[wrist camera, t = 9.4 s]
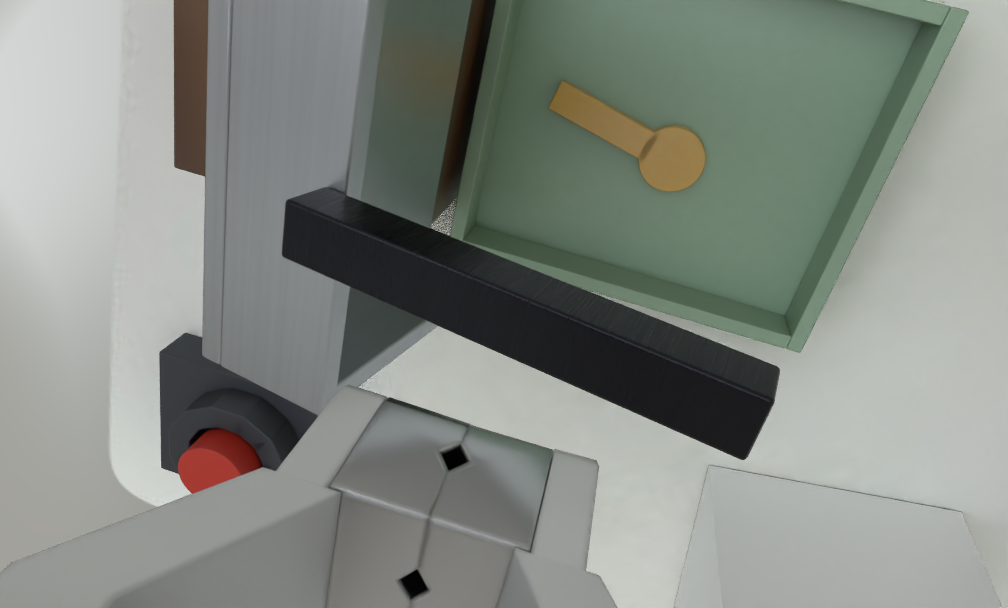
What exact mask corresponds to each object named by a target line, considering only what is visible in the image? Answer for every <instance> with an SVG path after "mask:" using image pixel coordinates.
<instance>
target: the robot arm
mask: <svg viewBox="0 0 1008 608" xmlns="http://www.w3.org/2000/svg"><path fill="white" fill-rule="evenodd" d="M598 471H599V465H598V463H597V460H593V459H590V458H586V457H582V456H579V455H575V454H572V453H568V452H564V451H561V450H557V449H554V451H553V450H552V449H549V448H545V447H542V446H539V445H536V444H532V443H529V442H526V441H522V440H519V439H516V438H512V437H509V436H506V435H503V434H499V433H496V432H493V431H489V430H486V429H483V428H479V427H476V426H473V425H470V424H468V423H465V422H462V421H459V420H456V419H453V418H450V417H447V416H444V415H441V414H438V413H435V412H432V411H429V410H426V409H423V408H420V407H417V406H414V405H411V404H408V403H405V402H402V401H399V400H396V399H393V398H387V397H386V396H383V395H380V394H377V393H374V392H370V391H367V390H364V389H361V388H358V387H355V386H352V385H347V386H345V387H343V388H341V389H339V390H338V391H337V393H336V394H335V395H334V397H333V398H332V399H331V400H330V402H329V403H328V404H327V406H326V407H325V408H324V410H323V411H322V412H321V413H320V415H319V416H318V417H317V419H316V420H315V421H314V422H313V424H312V425H311V426H310V428H309V429H308V430H307V431H306V433H305V434H304V435H303V437H302V438H301V439H300V441H299V442H298V443H297V444H296V446H295V447H294V448H293V450H292V451H291V452H290V453H289V455H288V456H287V457H286V459H285V460H284V461H283V463H282V464H281V465H280V466H279V468H278V469H277V470H276V471H273V470H270V469H267V468H264V467H262V468H259V469H257V470H254V471H251V472H249V473H246V474H244V475H241V476H238V477H236V478H233V479H230V480H228V481H225V482H222V483H220V484H217V485H214V486H212V487H209V488H207V489H204V490H201V491H199V492H196V493H193V494H191V495H188V496H185V497H183V498H180V499H178V500H175V501H172V502H170V503H167V504H164V505H162V506H159V507H156V508H154V509H151V510H148V511H146V512H143V513H141V514H138V515H135V516H133V517H130V518H127V519H125V520H122V521H119V522H117V523H114V524H112V525H109V526H106V527H104V528H101V529H98V530H96V531H93V532H91V533H88V534H85V535H83V536H80V537H77V538H75V539H72V540H69V541H67V542H64V543H61V544H59V545H56V546H54V547H51V548H48V549H46V550H43V551H40V552H38V553H35V554H32V555H30V556H27V557H24V558H22V559H19V560H17V561H14V562H11V564H9V565H8V566H7V567H6V568H5V569H4V570H3V571H1V572H0V608H618V607H617V606H616V604H615V602H614V600H613V598H612V597H611V595H610V593H609V591H608V590H607V588H606V586H605V584H604V582H603V581H602V579H601V577H600V576H599V575H596V574H593V573H590V572H587V571H586V566H587V558H588V550H589V542H590V534H591V527H592V519H593V511H594V503H595V495H596V487H597V479H598Z"/></svg>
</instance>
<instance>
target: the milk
mask: <svg viewBox="0 0 1008 608" xmlns="http://www.w3.org/2000/svg"><path fill="white" fill-rule="evenodd" d="M674 608H1002V606H1001V604H1000V601H999V599H998V597H997V594H996V592H995V590H994V587H993V585H992V583H991V580H990V578H989V576H988V574H987V571H986V569H985V567H984V564H983V562H982V560H981V557H980V555H979V553H978V550H977V548H976V546H975V543H974V541H973V539H972V536H971V534H970V532H969V529H968V527H967V525H966V522H965V520H964V518H963V515H962V513H961V512H958V511H953V510H947V509H942V508H936V507H931V506H926V505H920V504H915V503H910V502H904V501H899V500H893V499H888V498H883V497H877V496H872V495H866V494H861V493H856V492H850V491H845V490H840V489H834V488H829V487H823V486H818V485H813V484H807V483H802V482H797V481H791V480H786V479H780V478H775V477H770V476H764V475H759V474H754V473H748V472H743V471H737V470H732V469H727V468H721V467H716V466H711V465H709V467H708V471H707V475H706V479H705V483H704V487H703V491H702V495H701V499H700V503H699V507H698V512H697V516H696V520H695V524H694V528H693V532H692V536H691V540H690V544H689V548H688V552H687V556H686V560H685V564H684V568H683V572H682V576H681V581H680V585H679V589H678V593H677V597H676V601H675V605H674Z"/></svg>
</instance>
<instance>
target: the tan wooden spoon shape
mask: <svg viewBox="0 0 1008 608" xmlns="http://www.w3.org/2000/svg"><path fill="white" fill-rule="evenodd" d="M548 108H549V109H550V110H552V111H554V112H555V113H557V114H559V115H561V116H563V117H564V118H566V119H568V120H570V121H571V122H573V123H575V124H577V125H579V126H580V127H582V128H584V129H586V130H588V131H589V132H591V133H593V134H595V135H596V136H598V137H600V138H602V139H604V140H605V141H607V142H609V143H611V144H613V145H614V146H616V147H618V148H620V149H621V150H623V151H625V152H627V153H629V154H630V155H632V156H634V157H636V158H638V165H639V169H640V172H641V175H642V177H643V178H644V180H645V181H646V182H647V183H648V184H649V185H651V186H652V187H654V188H655V189H658V190H661V191H665V192H676V191H680V190H683V189H686V188H688V187H689V186H691V185H692V184H693V183H695V182H696V181H697V180H698V178H699V177H700V176H701V174H702V172H703V170H704V167H705V162H706V154H705V148H704V145H703V142H702V140H701V139H700V137H699V136H698V135H697V134H696V133H695V132H694V131H693V130H691V129H690V128H688V127H685V126H682V125H676V124H671V125H665V126H662V127H659V128H657V129H655V130H654V129H652V128H650V127H649V126H647V125H645V124H643V123H641V122H640V121H638V120H636V119H634V118H633V117H631V116H629V115H627V114H625V113H624V112H622V111H620V110H618V109H617V108H615V107H613V106H611V105H609V104H608V103H606V102H604V101H602V100H600V99H599V98H597V97H595V96H593V95H592V94H590V93H588V92H586V91H584V90H583V89H581V88H579V87H577V86H576V85H574V84H572V83H570V82H568V81H567V80H565V79H564V80H563V81H562V82H561V83H560V85H559V87H558V89H557V91H556V93H555V95H554V97H553V99H552V101H551V103H550V105H549V107H548Z"/></svg>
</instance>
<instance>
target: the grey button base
mask: <svg viewBox="0 0 1008 608" xmlns="http://www.w3.org/2000/svg"><path fill="white" fill-rule="evenodd" d="M160 415H161V468H163V469H166V470H169V471H172V472H175V473H178V474H179V471H178V463H179V459H180V457H181V456H182V454H183V453H184V452H185V451H186V450H187V449H188V448H190V447H191V446H192V445H193V444H194V443H195V442H196V441H197V440H198V439H199V438H200V437H201V436H202V435H203V434H204V433H205V432H207V431H208V430H211V429H216V428H221V429H224V430H227V431H230V432H233V433H237V434H239V435H240V436H241V437H242V438H243V439H245V440H246V441H247V442H248V443H249V444H250V445H252V446H253V447H254V448H255V450H256V452H257V454H258V456H259V458H260V460H261V464H262V467H264V468H267V469H270V470H273V471H276V470H277V469H278V468H279V466H280V465H281V464H282V463H283V461H284V460H285V459H286V457H287V456H288V455H289V453H290V452H291V451H292V450H293V448H294V447H295V446H296V444H297V443H298V442H299V441H300V439H301V438H302V437H303V435H304V434H305V433H306V431H307V430H308V429H309V428H310V426H311V425H312V424H313V422H314V421H315V420H316V419H317V417H318V415H316V414H314V413H312V412H310V411H308V410H306V409H304V408H302V407H300V406H299V405H297V404H295V403H293V402H291V401H289V400H287V399H285V398H283V397H281V396H279V395H277V394H275V393H273V392H271V391H269V390H267V389H265V388H263V387H261V386H259V385H258V384H256V383H254V382H252V381H250V380H248V379H246V378H244V377H242V376H240V375H238V374H236V373H234V372H232V371H230V370H228V369H226V368H224V367H222V366H221V364H217V363H215V362H213V361H211V360H209V359H207V358H205V357H204V356H203V355H202V338H199V337H196V336H193V335H190V334H187V333H185V334H183V335H182V336H180V337H179V338H178V339H176V340H175V341H174V342H172V343H171V344H170V345H168V346H167V347H166V348H164V349H163V350H162V351H160Z"/></svg>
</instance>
